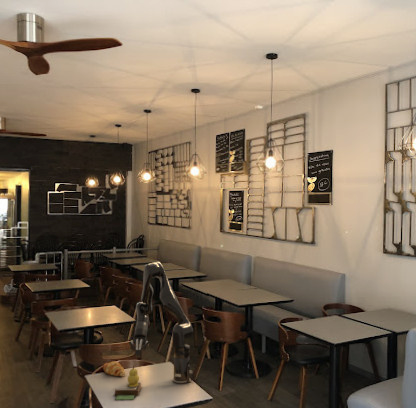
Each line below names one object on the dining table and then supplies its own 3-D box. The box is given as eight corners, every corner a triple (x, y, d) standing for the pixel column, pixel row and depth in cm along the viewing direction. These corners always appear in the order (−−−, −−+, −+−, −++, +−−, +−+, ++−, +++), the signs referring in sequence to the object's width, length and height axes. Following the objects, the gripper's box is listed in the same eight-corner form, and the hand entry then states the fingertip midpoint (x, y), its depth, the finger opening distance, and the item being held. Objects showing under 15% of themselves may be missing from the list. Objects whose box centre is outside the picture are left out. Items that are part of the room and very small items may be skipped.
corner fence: (140, 387, 255) (140, 382, 255) (137, 395, 244) (137, 390, 244) (118, 388, 254) (118, 382, 254) (114, 395, 243) (114, 390, 243)
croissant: (127, 381, 272) (133, 368, 275) (115, 378, 265) (121, 364, 268) (107, 372, 286) (112, 359, 288) (94, 368, 279) (100, 355, 281)
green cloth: (134, 396, 244) (134, 394, 244) (132, 399, 239) (133, 398, 239) (117, 396, 243) (117, 395, 243) (115, 400, 238) (115, 399, 238)
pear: (139, 382, 262) (140, 364, 262) (138, 387, 255) (138, 368, 256) (128, 383, 261) (128, 364, 262) (126, 387, 255) (126, 368, 255)
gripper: (129, 327, 282) (125, 353, 269) (151, 327, 282) (148, 353, 270) (131, 333, 287) (127, 359, 275) (152, 333, 288) (149, 359, 275)
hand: (137, 356), depth 272 cm, fingers closed
